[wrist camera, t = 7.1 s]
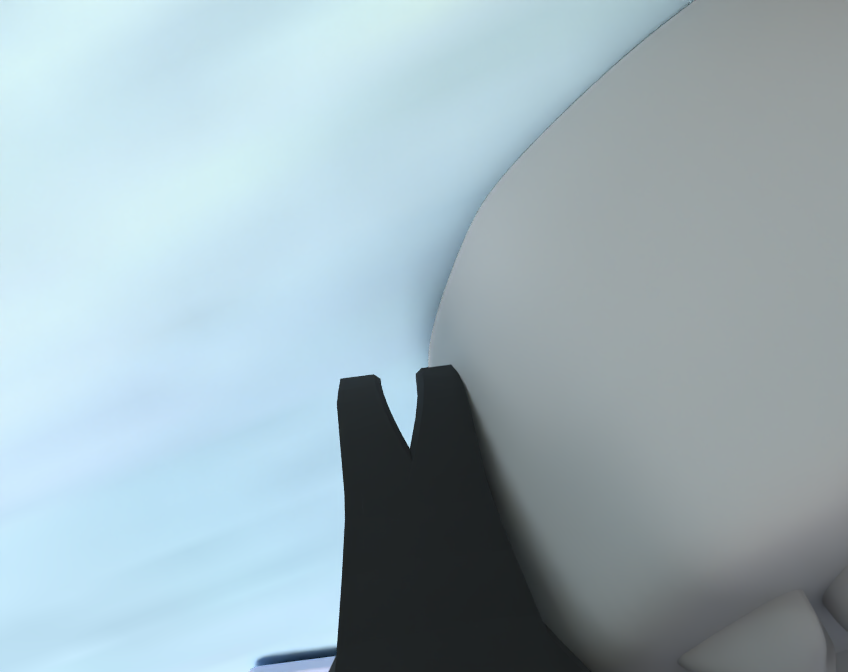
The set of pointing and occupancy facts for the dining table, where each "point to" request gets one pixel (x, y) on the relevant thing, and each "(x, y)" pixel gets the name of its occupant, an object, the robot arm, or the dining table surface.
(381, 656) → the robot arm
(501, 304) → the lumpy-topped squat cylinder
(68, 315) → the dining table surface
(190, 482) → the dining table surface
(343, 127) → the dining table surface
